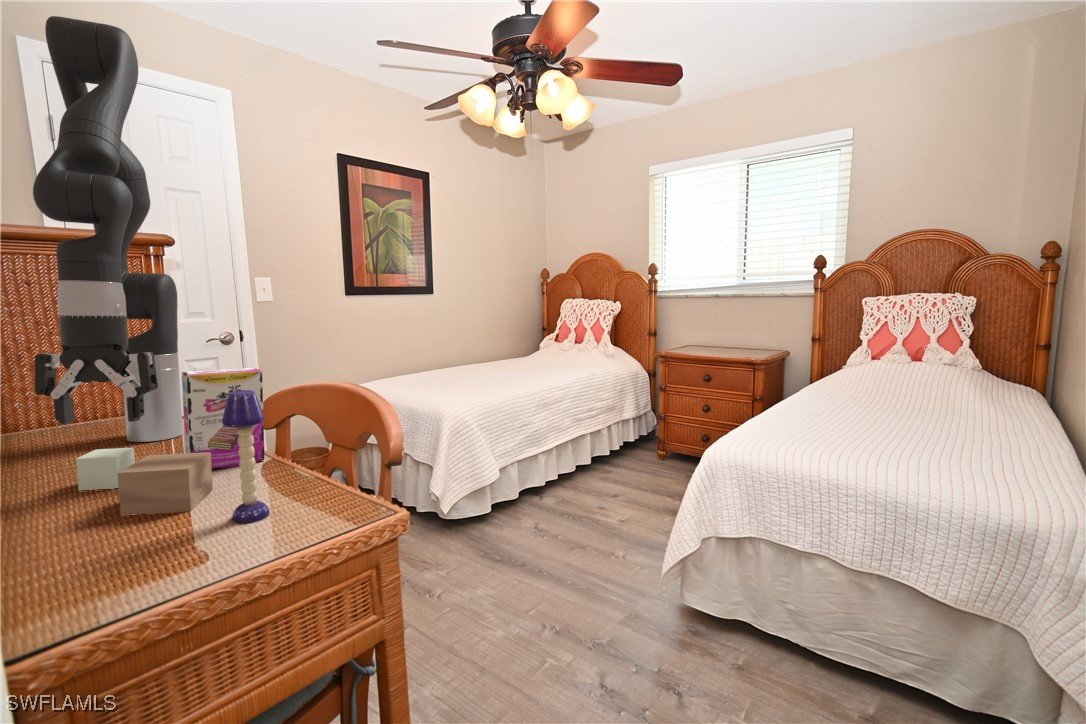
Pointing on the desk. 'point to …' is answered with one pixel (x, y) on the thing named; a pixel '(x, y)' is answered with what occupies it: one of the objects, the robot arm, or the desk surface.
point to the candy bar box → (218, 413)
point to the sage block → (103, 467)
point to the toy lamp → (246, 451)
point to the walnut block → (165, 483)
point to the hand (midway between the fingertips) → (101, 422)
